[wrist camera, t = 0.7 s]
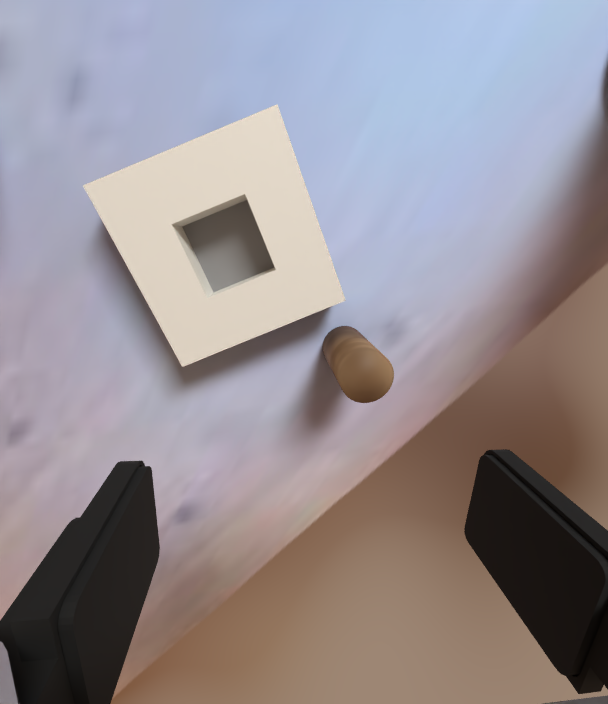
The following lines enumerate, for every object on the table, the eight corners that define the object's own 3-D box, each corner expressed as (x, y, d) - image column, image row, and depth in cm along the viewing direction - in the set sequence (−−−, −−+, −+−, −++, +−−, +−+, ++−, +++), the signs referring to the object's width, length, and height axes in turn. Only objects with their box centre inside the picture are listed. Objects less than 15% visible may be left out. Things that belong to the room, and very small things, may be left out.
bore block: (275, 124, 26) (277, 104, 23) (335, 293, 31) (345, 300, 27) (109, 194, 27) (82, 185, 23) (192, 352, 31) (182, 366, 27)
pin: (356, 319, 32) (384, 343, 24) (369, 357, 33) (400, 390, 25) (316, 335, 32) (332, 364, 24) (330, 372, 33) (350, 410, 25)
